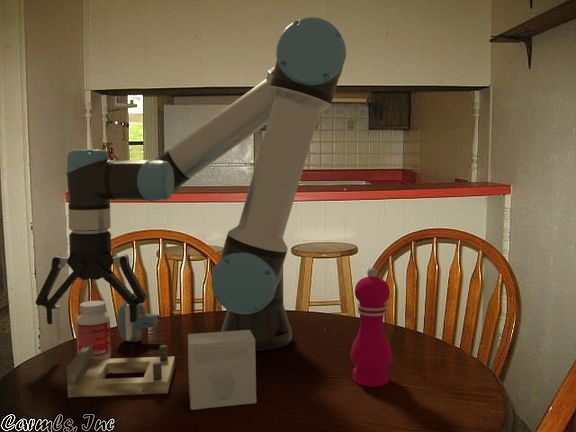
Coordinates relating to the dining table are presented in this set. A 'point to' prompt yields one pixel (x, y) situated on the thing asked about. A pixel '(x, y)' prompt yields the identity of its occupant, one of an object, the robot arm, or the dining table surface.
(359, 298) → the pepper mill
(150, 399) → the dining table surface
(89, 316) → the pill bottle
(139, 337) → the wolf head
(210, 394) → the skincare box
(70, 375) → the jig
